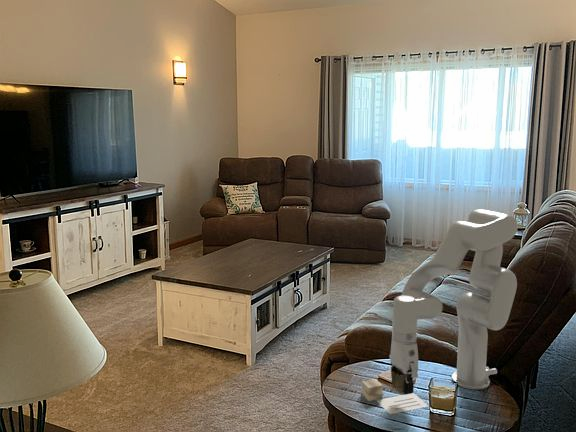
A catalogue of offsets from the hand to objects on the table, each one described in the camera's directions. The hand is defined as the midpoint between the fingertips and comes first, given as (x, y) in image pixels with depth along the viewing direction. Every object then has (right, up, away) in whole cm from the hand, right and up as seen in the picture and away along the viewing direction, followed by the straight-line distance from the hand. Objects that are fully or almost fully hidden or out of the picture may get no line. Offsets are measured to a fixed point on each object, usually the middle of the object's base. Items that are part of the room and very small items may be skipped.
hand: (402, 387), depth 184 cm
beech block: (-9, -5, +6) cm, 12 cm away
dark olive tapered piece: (0, -2, 0) cm, 2 cm away
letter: (0, -6, +1) cm, 6 cm away
